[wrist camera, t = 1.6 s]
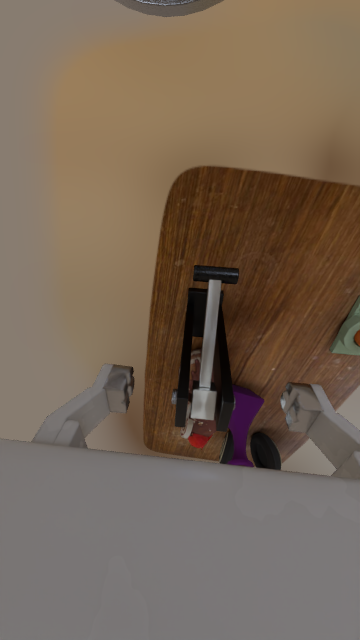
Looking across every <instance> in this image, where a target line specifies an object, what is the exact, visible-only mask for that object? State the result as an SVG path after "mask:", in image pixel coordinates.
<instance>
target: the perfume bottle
mask: <svg viewBox="0 0 360 640" xmlns="http://www.w3.org/2000/svg"><path fill="white" fill-rule="evenodd" d="M232 386H233V393H234V396H235V409H234V410H233V412H232V415H231V418H230V422H229V425H228V428H229V429H230V430H231V432H232V434H233V440H234V453H233V457H232V459H231V461H228V463H227V464H229V465H238V466H247V467H254V466H253V463H252V462H251V461H249V460H248V458H247V456H246V440H247V433H248V430H249V427H250V425H251V423H252V421H253V419H254V417H255V416H256V414H257V413H258V411H259V409H260V408H261V406H262V405H263V403H264V399H262V398H261V397H259V396H258V395H256V394H255V393H254V392H252V391H251V390H249V389H247V388H243V387H240V386H236V385H233V384H232Z"/></svg>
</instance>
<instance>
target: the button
mask: <svg viewBox="0 0 360 640" xmlns="http://www.w3.org/2000/svg"><path fill="white" fill-rule="evenodd" d="M354 339H355V341H356V343H357V344H358V345H359V346H360V330H358V331H357V332H356V334H355V337H354Z"/></svg>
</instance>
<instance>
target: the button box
mask: <svg viewBox="0 0 360 640" xmlns="http://www.w3.org/2000/svg"><path fill="white" fill-rule="evenodd" d="M358 330H360V296H359V297H358V299H357V301H356V303H355V304H354V306H353V308H352V310H351V312H350V313H349V315H348V317H347V319H346V321H345V322H344V323H343V325H342V327H341V329H340V330H339V332H338V335H337V337H336V339H335V340H334V342H333V344H332V346H331V348H330V351H331V352H332V353H339V354H350V355H360V346H359V345H358V344H357V343H356V341H355V339H354V337H355V334H356V332H357V331H358Z"/></svg>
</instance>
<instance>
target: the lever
mask: <svg viewBox="0 0 360 640" xmlns="http://www.w3.org/2000/svg"><path fill="white" fill-rule="evenodd" d="M238 278H239V269H238V268H227V267H214V266H202V265H194V275H193V281H201V282H208V291H207V301H206V311H205V322H204V332H203V342H202V353H201V363H200V374H199V381H197V380H193V385H192V396H191V418H196V419H206V420H214V416H215V406H216V397H217V390H216V387H215V383H214V382H211V378H212V368H213V358H214V348H215V339H216V329H217V319H218V309H219V300H220V290H221V283H225V284H237V282H238Z"/></svg>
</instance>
